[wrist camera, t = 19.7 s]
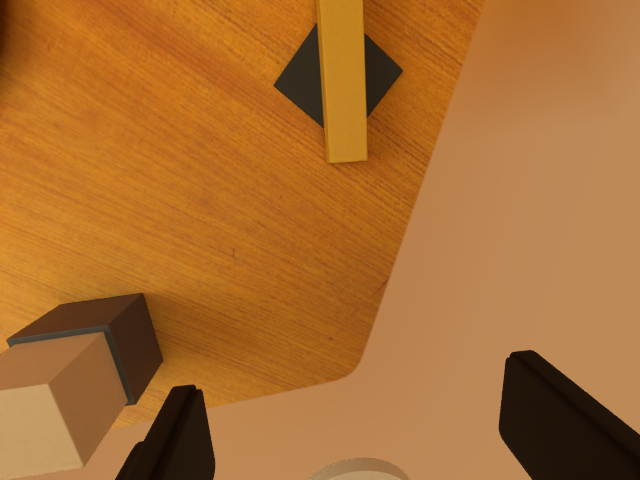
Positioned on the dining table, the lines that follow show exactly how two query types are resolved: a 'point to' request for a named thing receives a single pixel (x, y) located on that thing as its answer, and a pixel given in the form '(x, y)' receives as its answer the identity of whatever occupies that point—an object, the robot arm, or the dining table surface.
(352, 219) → the dining table surface
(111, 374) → the tower
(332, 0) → the bar
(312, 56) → the mat
